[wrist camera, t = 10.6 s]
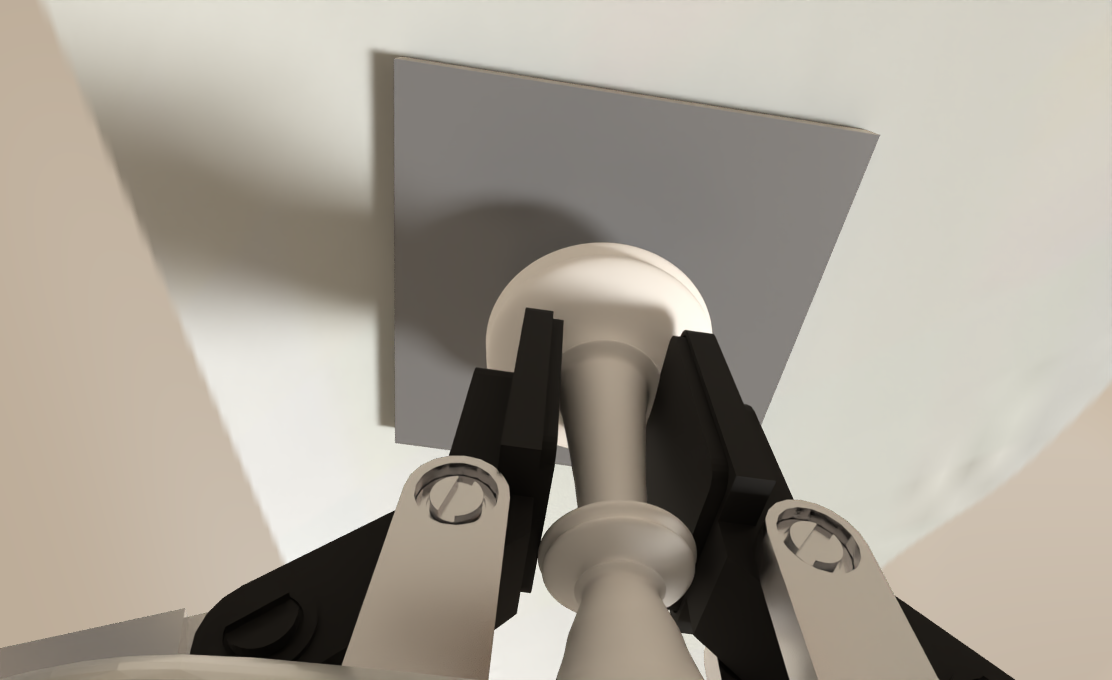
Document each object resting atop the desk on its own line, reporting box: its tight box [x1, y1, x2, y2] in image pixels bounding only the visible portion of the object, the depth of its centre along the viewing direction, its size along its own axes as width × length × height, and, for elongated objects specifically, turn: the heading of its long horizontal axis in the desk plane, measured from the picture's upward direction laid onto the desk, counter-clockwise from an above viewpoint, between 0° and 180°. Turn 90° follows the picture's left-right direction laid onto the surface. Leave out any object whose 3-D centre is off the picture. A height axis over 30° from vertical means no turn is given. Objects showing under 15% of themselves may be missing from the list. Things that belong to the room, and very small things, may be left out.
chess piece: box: [486, 242, 712, 680], centre depth 8 cm, size 5×5×10 cm
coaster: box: [394, 57, 880, 466], centre depth 14 cm, size 10×10×1 cm
